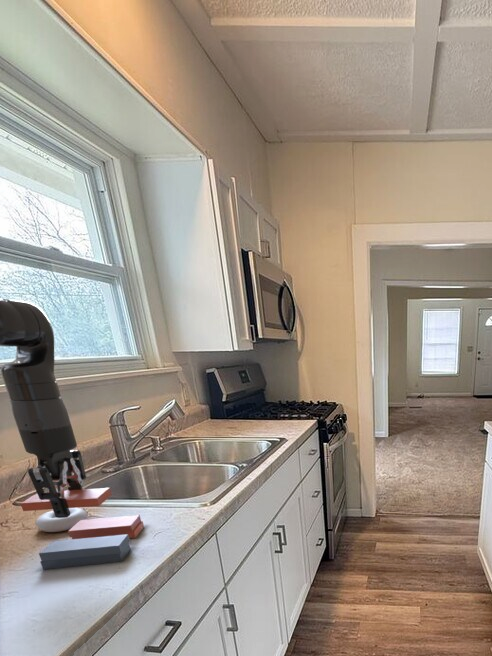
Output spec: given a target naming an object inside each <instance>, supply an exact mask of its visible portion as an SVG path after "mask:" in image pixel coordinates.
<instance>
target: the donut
mask: <svg viewBox="0 0 492 656" xmlns="http://www.w3.org/2000/svg"><path fill="white" fill-rule="evenodd" d="M69 511H70V516H68V517H66V518H57V517H56V516H55V514H54V511H53V510H50V511H47V512H45V513H43V514H41V515H39V516H38V517H37V519H36V522H35V525H36V527H37V528H38V529H39V530H40V531H42V532H46V533H60V532H65V531H69V530H70V529H71V528H72V527H73V526H74V525H75V524H77V523H78V522H79V521H80V520H87V519H88V513H87V511H86V510H85V509H83V508H82V507H77V508H69Z"/></svg>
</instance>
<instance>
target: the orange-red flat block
mask: <svg viewBox="0 0 492 656" xmlns="http://www.w3.org/2000/svg"><path fill="white" fill-rule="evenodd" d="M144 528H145V525H144V522H143V520H142V519H141V516H140V514H136V515H135V514H134V515H122V516H112V517H99V518H87V520H80V521H79V522H78V523H77V524H75V525H74V526H73V527H72V528H71V529H69V530H67V533H68V535H69V538H71V539H82V538H93V537H104V536H115V535H126V534H128V535H129V539H136V538H137V537H138V536H139V534H140V533H141V532H142V530H143V529H144Z"/></svg>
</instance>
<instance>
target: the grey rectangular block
mask: <svg viewBox="0 0 492 656" xmlns="http://www.w3.org/2000/svg"><path fill="white" fill-rule="evenodd" d="M130 543H131V538H129V535H128V534H126V535H115V536H104V537H93V538H82V539H72V538H71V539H61V540H53V541H51V542H50V543H49V544H48V545H47V546H45V548H43V549H42V550H41V551H40V552H39V553H38V555H39V559H40V561H39V563H40V565H41V568H42V570H52V569H60V568H69V567H70V568H71V567H79V566H89V565H90V566H91V565H98V564H99V565H101V564H109V563H118V562H123V560H124V559H125V558H126V556H127V555H128V554H129V553H130V551H131V545H130Z"/></svg>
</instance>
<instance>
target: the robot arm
mask: <svg viewBox="0 0 492 656" xmlns="http://www.w3.org/2000/svg"><path fill="white" fill-rule="evenodd" d="M0 347H16V353H15V359H14V360H13V361H10V362H8V363H4V364H3V365H2V366H1V368H0V374H1V378H2V381H3V384H4V386H5V390H6V393H7V395H8V398H9V400H10V401H9V402H10V406H11V412H12V416H13V418H14V421H15V424H16V427H17V430H18V433H19V436H20V439H21V442H22V444H23V447H24V450H25V452H26V453H27V454H31V455H34V456H36V460H37V466H36V467H31V468H28V469H27V473H28V475H29V478H30V480H31V482H32V485H33V487H34V489H35V492H36V493H37V494H38V496H39V498H40V500H50V502H51V505H52V508H53V509H52V511H54V514H55V516H56V517H57V518H66V517H68V516H70V511H69V508H68V505H67V502H66V498H64V491H65V487H66V486H67V490H82V489H84V488H83V485H84V480H86V479H87V474H86V470H85V466H84V460H83V457H82V453H81V452H82V451H80V449H78V450H77V449H76V448H77V446H78V443H77V440H76V436H75V433H74V429H73V427H72V423H71V420H70V416H69V414H68V410H67V407H66V405H65V403H64V401H63V398H62V396H61V391H60V388H59V384H58V382H57V378H56V375H55V334H54V329H53V326H52V324H51V322H50V319H49V318H48V316H47V314H45V312H44V311H43V310H42V309H41V308H40V307H39V306H37V305H35V304H34V303H32V302H29V301H24V300H16V299H7V298H0ZM57 491H58V492H57Z"/></svg>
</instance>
